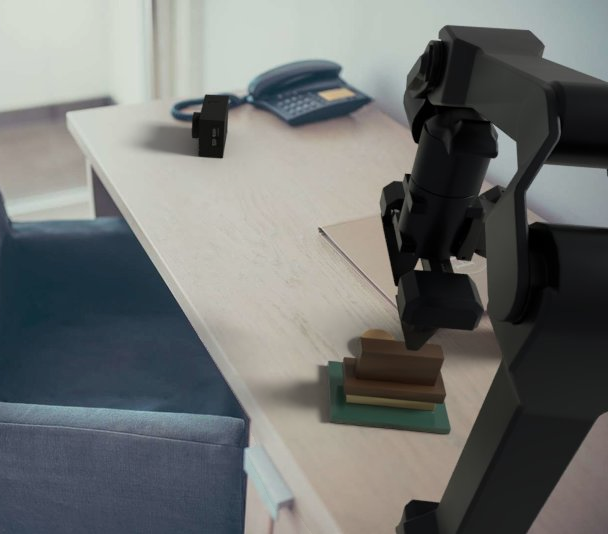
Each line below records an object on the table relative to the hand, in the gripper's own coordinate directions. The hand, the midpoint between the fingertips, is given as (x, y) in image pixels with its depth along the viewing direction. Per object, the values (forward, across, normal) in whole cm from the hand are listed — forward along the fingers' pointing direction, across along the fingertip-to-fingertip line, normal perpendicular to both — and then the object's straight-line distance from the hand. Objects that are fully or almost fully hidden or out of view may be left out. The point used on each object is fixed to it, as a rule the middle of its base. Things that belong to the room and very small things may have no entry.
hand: (405, 315), depth 64 cm
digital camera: (+11, +53, +25) cm, 60 cm away
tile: (+10, -2, 0) cm, 10 cm away
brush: (+10, -2, 0) cm, 10 cm away
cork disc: (+10, +6, 0) cm, 12 cm away
